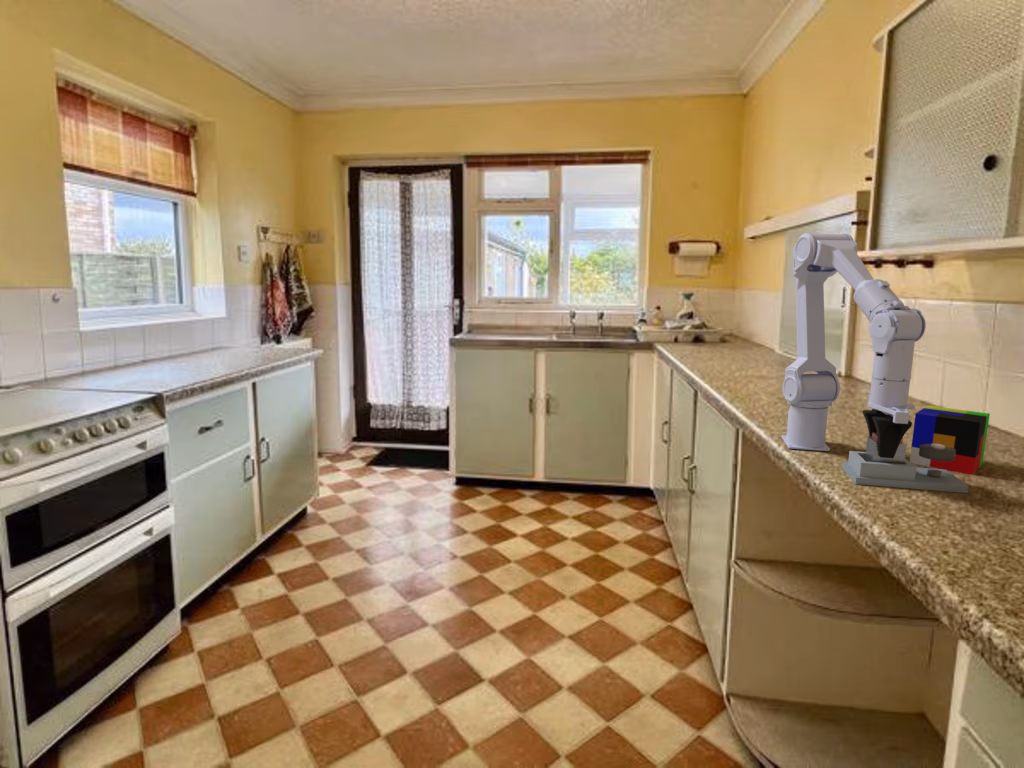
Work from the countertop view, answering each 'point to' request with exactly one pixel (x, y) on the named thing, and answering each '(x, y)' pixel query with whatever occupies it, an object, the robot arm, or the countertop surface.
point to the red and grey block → (873, 453)
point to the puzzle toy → (951, 437)
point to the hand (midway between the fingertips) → (882, 453)
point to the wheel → (937, 452)
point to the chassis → (900, 475)
